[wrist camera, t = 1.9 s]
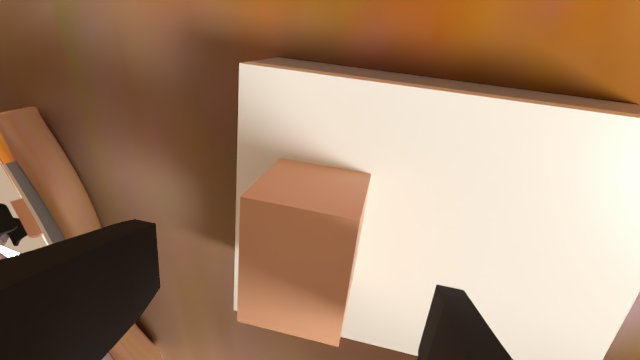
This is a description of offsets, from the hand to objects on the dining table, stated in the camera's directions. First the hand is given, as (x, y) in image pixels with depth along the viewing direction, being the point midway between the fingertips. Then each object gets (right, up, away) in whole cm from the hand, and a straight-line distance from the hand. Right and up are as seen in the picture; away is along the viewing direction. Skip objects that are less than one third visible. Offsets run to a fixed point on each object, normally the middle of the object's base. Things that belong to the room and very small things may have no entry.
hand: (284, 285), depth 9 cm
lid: (+4, +1, +4) cm, 6 cm away
